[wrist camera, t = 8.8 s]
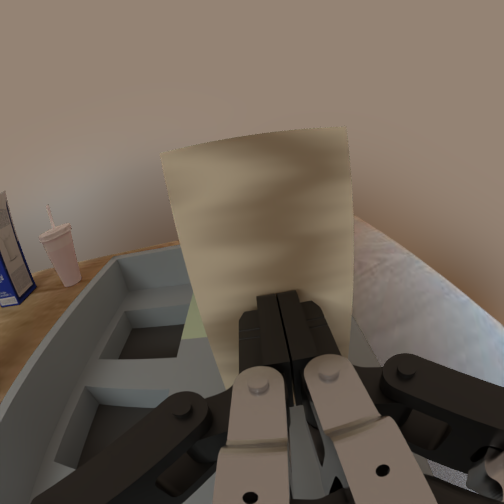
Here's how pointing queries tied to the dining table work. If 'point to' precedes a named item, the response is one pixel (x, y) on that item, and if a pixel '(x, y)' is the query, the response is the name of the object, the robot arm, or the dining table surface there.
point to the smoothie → (61, 251)
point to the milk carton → (12, 261)
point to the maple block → (265, 228)
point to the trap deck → (125, 377)
